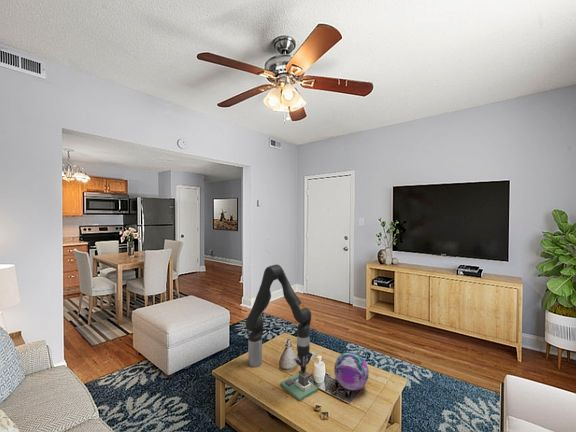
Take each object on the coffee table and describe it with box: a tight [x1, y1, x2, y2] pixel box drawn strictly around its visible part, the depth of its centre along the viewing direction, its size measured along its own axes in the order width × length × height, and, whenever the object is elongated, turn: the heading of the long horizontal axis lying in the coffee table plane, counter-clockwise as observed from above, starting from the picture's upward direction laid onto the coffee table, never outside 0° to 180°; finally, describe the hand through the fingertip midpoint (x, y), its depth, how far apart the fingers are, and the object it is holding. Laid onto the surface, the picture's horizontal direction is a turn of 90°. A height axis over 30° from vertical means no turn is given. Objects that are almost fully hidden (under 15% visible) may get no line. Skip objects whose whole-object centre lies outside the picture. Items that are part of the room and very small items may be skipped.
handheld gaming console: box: [299, 351, 317, 363], centre depth 195 cm, size 10×2×15 cm
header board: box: [279, 373, 319, 402], centre depth 162 cm, size 18×14×4 cm
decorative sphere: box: [333, 351, 370, 391], centre depth 162 cm, size 20×20×20 cm
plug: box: [297, 370, 309, 387], centre depth 161 cm, size 5×4×8 cm
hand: (303, 371), depth 161 cm, fingers closed
